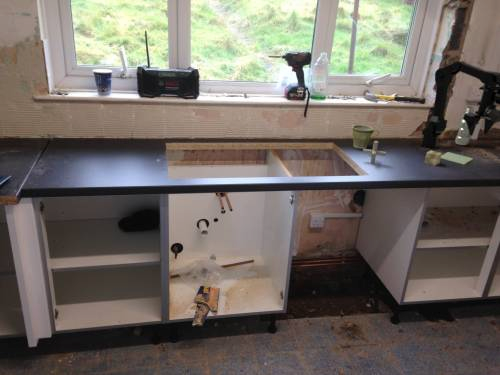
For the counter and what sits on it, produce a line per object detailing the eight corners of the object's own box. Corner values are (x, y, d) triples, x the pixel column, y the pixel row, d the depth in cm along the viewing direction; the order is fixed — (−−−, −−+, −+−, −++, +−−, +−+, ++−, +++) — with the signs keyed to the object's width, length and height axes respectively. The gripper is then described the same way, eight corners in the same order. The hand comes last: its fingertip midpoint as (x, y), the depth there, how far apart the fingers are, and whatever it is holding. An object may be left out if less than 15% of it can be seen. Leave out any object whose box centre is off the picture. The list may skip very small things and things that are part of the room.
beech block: (424, 162, 198) (426, 152, 196) (428, 160, 201) (431, 150, 199) (434, 165, 194) (437, 155, 192) (439, 163, 198) (441, 153, 196)
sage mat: (438, 157, 205) (438, 156, 205) (448, 152, 213) (448, 152, 213) (464, 164, 197) (464, 163, 197) (473, 159, 205) (473, 158, 205)
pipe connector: (384, 160, 197) (388, 140, 193) (383, 167, 188) (387, 146, 184) (362, 157, 199) (365, 137, 195) (360, 164, 191) (363, 143, 187)
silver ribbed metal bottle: (469, 147, 223) (479, 109, 215) (455, 145, 224) (465, 108, 216) (466, 143, 229) (475, 107, 221) (452, 142, 230) (462, 105, 222)
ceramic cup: (349, 148, 211) (352, 129, 207) (350, 142, 220) (352, 124, 216) (376, 151, 209) (379, 132, 205) (375, 145, 217) (379, 126, 213)
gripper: (488, 106, 180) (477, 141, 186) (518, 104, 187) (507, 138, 193) (466, 100, 189) (457, 134, 196) (496, 99, 196) (486, 131, 202)
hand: (478, 134), depth 196 cm, fingers open, 9 cm apart
